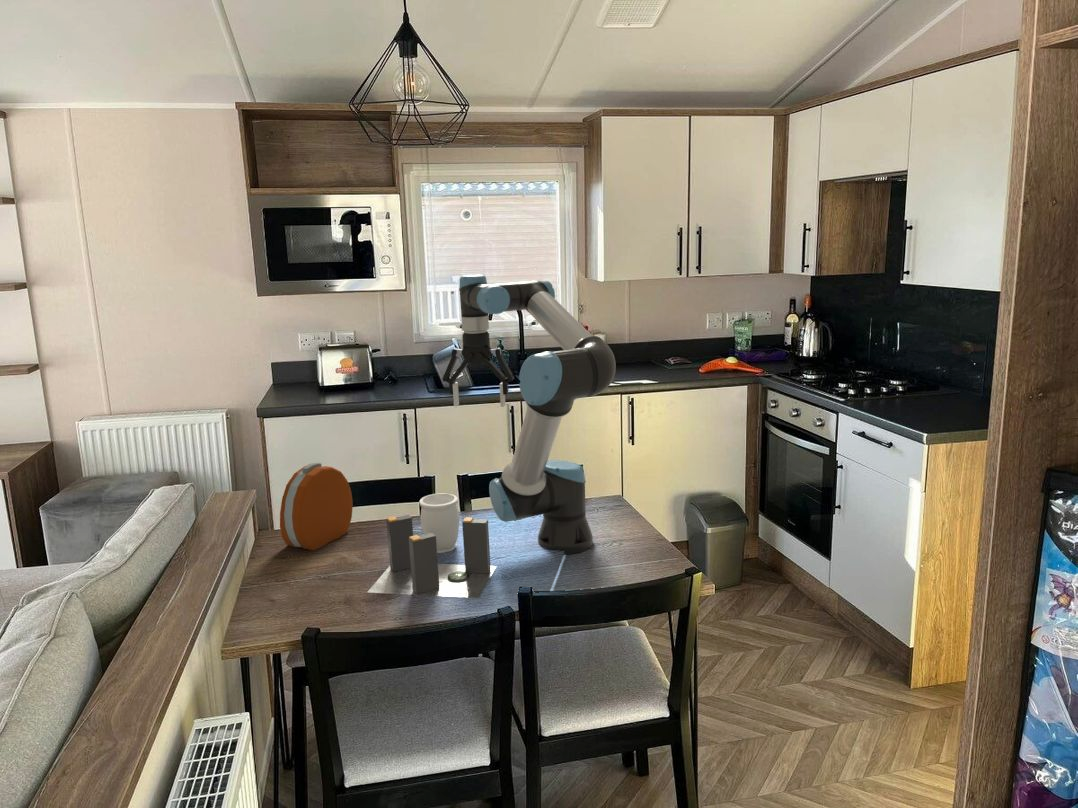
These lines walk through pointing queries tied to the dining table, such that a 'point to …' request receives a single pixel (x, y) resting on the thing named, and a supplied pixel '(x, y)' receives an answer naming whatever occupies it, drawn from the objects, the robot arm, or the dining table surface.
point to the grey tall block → (399, 541)
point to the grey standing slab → (424, 563)
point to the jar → (441, 519)
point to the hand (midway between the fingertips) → (479, 405)
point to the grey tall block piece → (476, 545)
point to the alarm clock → (315, 507)
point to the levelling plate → (450, 582)
